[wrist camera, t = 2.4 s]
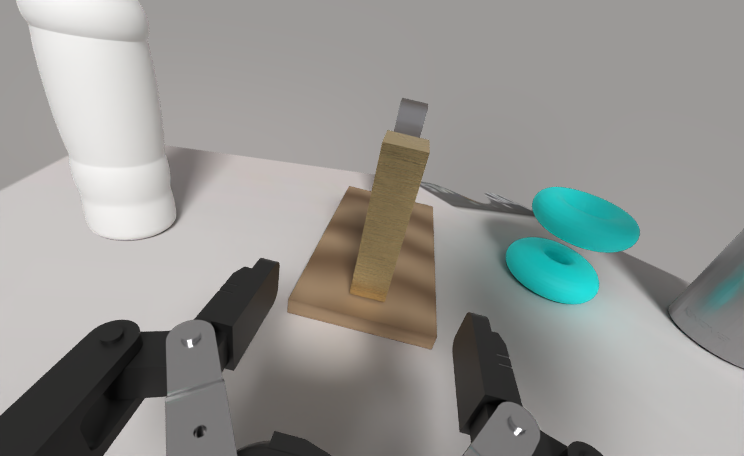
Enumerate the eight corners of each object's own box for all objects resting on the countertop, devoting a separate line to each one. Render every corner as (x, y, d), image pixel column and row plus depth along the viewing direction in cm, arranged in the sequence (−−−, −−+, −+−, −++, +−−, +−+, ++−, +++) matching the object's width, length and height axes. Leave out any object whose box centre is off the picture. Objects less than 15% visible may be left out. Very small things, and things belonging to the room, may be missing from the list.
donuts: (669, 243, 28) (554, 212, 29) (604, 321, 33) (508, 293, 34) (618, 197, 36) (530, 174, 37) (572, 265, 42) (496, 244, 42)
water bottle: (68, 229, 29) (-82, -184, 16) (135, 198, 35) (66, -121, 22) (136, 252, 28) (36, -163, 15) (193, 217, 34) (156, -103, 21)
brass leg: (384, 302, 27) (429, 152, 20) (349, 293, 27) (382, 141, 20) (388, 279, 29) (429, 140, 22) (356, 271, 29) (387, 130, 22)
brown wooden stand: (431, 349, 26) (505, 187, 18) (287, 312, 26) (301, 137, 18) (429, 215, 45) (464, 111, 38) (347, 195, 46) (366, 87, 38)
